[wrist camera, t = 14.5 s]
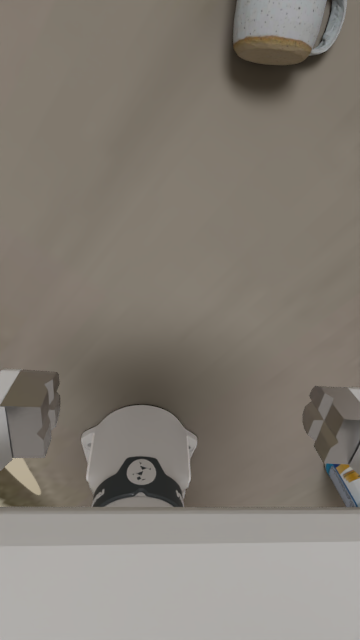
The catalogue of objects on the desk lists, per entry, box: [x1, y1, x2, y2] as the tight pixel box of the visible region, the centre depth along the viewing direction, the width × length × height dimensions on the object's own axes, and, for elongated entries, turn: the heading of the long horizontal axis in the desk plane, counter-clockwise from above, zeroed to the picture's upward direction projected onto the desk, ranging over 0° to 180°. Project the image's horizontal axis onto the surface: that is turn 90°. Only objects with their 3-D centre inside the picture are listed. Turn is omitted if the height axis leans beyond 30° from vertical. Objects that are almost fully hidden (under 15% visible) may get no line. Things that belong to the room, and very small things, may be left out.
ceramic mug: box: [233, 0, 347, 65], centre depth 27 cm, size 11×8×8 cm
